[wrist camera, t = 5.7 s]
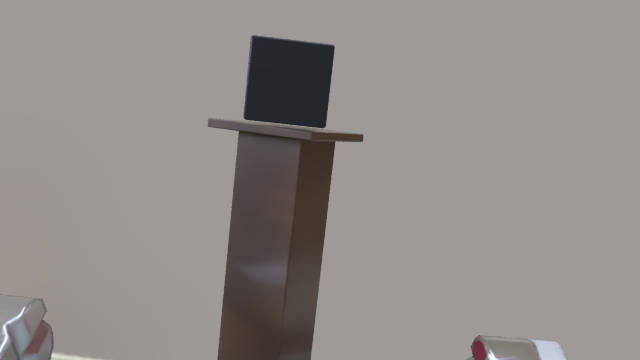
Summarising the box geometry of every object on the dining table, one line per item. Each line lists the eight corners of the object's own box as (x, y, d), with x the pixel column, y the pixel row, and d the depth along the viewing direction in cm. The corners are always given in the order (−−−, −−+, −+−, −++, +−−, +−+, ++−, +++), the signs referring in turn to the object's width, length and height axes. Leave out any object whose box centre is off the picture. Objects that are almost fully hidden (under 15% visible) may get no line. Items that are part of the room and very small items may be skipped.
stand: (352, 467, 39) (393, 137, 36) (277, 563, 30) (325, 133, 27) (236, 419, 43) (265, 121, 41) (141, 488, 34) (170, 114, 32)
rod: (262, 118, 36) (266, 74, 35) (317, 124, 36) (322, 80, 35) (221, 124, 16) (230, 24, 16) (345, 137, 16) (356, 40, 16)
